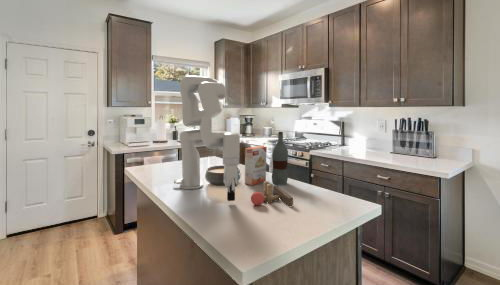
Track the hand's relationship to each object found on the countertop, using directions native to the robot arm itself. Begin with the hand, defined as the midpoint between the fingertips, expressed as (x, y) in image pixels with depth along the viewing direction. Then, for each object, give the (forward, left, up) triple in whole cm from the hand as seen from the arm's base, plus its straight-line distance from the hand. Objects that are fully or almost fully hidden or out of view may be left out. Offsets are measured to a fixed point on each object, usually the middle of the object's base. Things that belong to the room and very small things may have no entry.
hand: (231, 200), depth 129 cm
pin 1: (+18, +2, -2) cm, 18 cm away
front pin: (+14, 0, -1) cm, 14 cm away
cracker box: (+21, +33, -2) cm, 39 cm away
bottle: (+34, +28, -2) cm, 44 cm away
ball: (+11, -4, +1) cm, 12 cm away
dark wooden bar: (+25, 0, -2) cm, 25 cm away
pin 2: (+18, -3, -2) cm, 18 cm away
